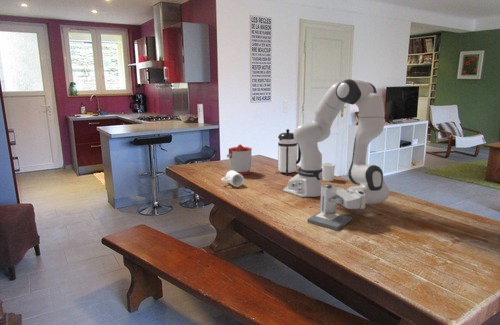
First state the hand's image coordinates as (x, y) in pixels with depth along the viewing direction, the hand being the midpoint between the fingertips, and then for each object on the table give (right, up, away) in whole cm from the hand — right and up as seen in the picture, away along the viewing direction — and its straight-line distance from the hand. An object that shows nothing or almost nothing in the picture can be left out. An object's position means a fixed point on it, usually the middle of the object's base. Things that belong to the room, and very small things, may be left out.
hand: (326, 198), depth 153 cm
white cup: (+15, +5, +65) cm, 66 cm away
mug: (-45, +2, +55) cm, 71 cm away
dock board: (+1, -10, 0) cm, 10 cm away
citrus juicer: (-41, +8, +83) cm, 93 cm away
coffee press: (-8, +9, +83) cm, 84 cm away
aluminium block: (+1, -6, +2) cm, 7 cm away
